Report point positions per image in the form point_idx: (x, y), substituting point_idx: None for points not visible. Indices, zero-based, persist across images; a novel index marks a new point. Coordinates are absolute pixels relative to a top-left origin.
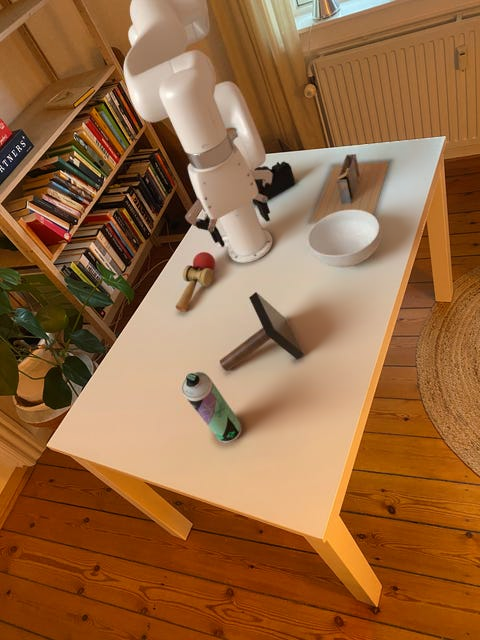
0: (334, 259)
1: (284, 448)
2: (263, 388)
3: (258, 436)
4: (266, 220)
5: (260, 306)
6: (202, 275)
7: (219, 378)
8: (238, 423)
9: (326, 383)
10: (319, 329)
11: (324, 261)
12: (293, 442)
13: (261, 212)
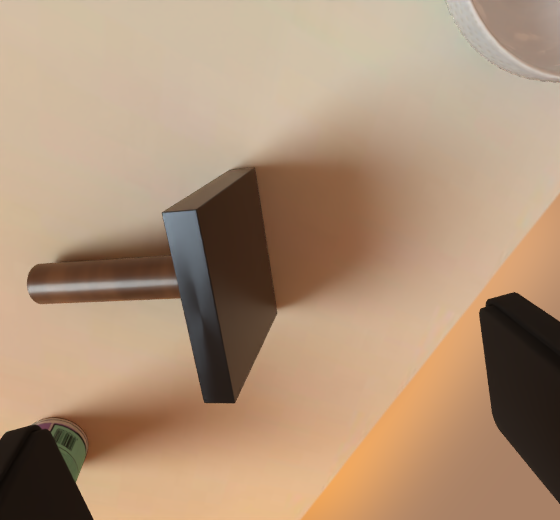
0: (500, 59)
1: (180, 502)
2: (153, 365)
3: (127, 470)
4: (503, 431)
5: (202, 288)
6: None
7: (26, 299)
8: (82, 461)
9: (303, 394)
10: (336, 241)
11: (462, 28)
12: (201, 495)
13: (525, 409)
